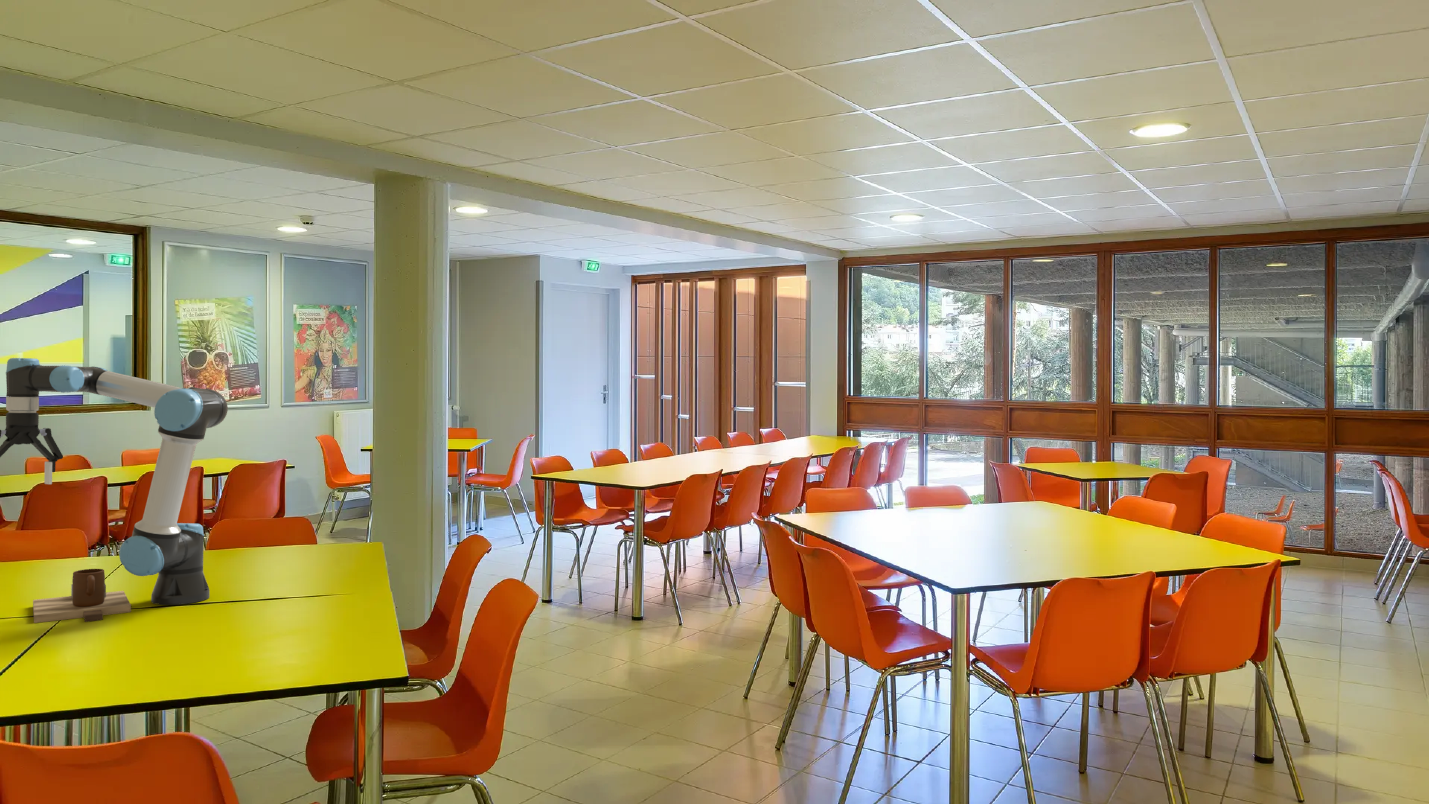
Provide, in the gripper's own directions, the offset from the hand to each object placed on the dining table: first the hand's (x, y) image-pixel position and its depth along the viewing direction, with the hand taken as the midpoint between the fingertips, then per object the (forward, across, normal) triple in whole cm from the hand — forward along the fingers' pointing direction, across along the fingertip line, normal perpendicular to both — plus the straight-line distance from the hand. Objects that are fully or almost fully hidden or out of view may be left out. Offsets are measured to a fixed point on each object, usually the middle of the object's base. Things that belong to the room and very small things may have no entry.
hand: (21, 485), depth 264 cm
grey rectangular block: (+33, -13, +11) cm, 37 cm away
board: (+35, -7, +20) cm, 41 cm away
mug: (+33, -7, +23) cm, 41 cm away
